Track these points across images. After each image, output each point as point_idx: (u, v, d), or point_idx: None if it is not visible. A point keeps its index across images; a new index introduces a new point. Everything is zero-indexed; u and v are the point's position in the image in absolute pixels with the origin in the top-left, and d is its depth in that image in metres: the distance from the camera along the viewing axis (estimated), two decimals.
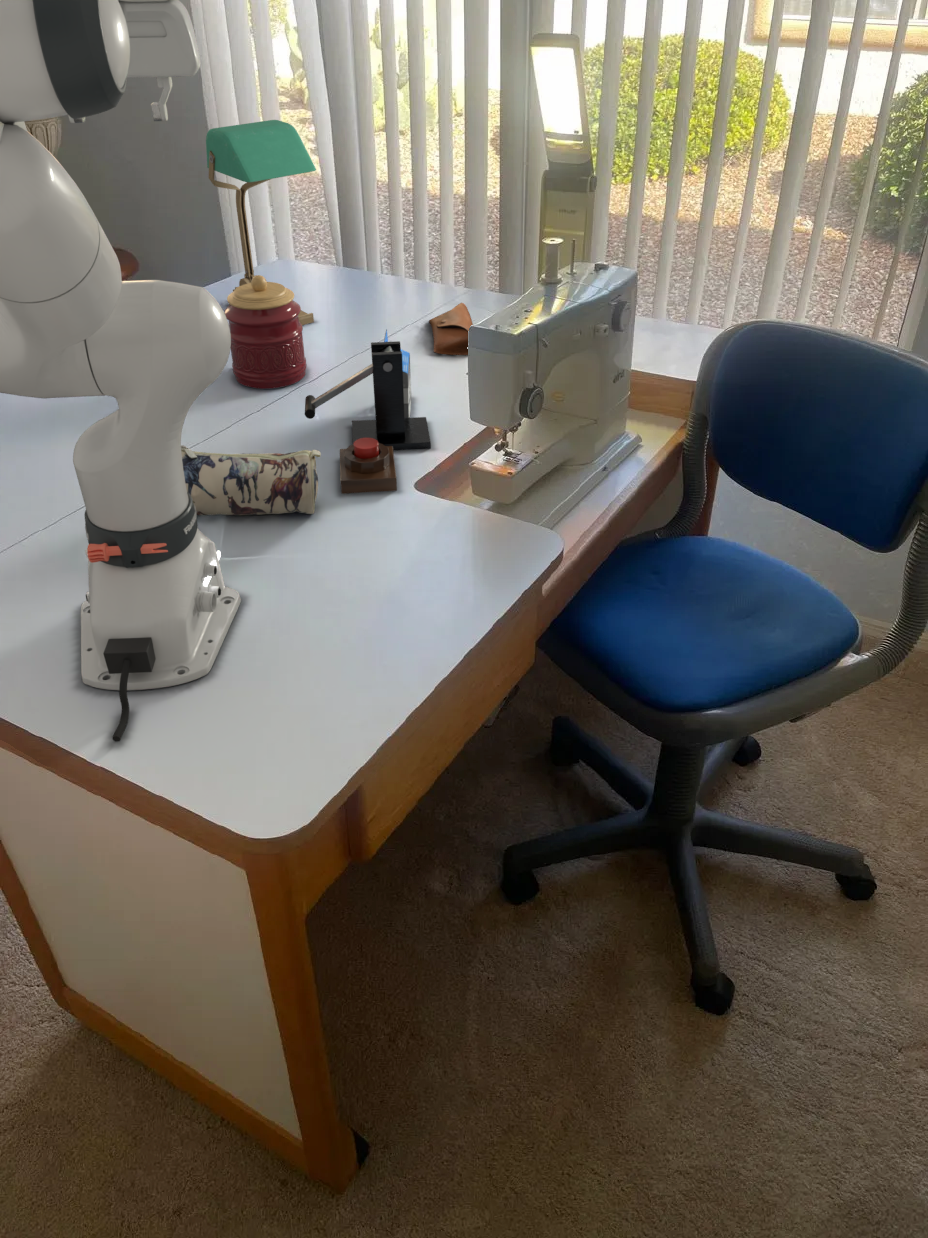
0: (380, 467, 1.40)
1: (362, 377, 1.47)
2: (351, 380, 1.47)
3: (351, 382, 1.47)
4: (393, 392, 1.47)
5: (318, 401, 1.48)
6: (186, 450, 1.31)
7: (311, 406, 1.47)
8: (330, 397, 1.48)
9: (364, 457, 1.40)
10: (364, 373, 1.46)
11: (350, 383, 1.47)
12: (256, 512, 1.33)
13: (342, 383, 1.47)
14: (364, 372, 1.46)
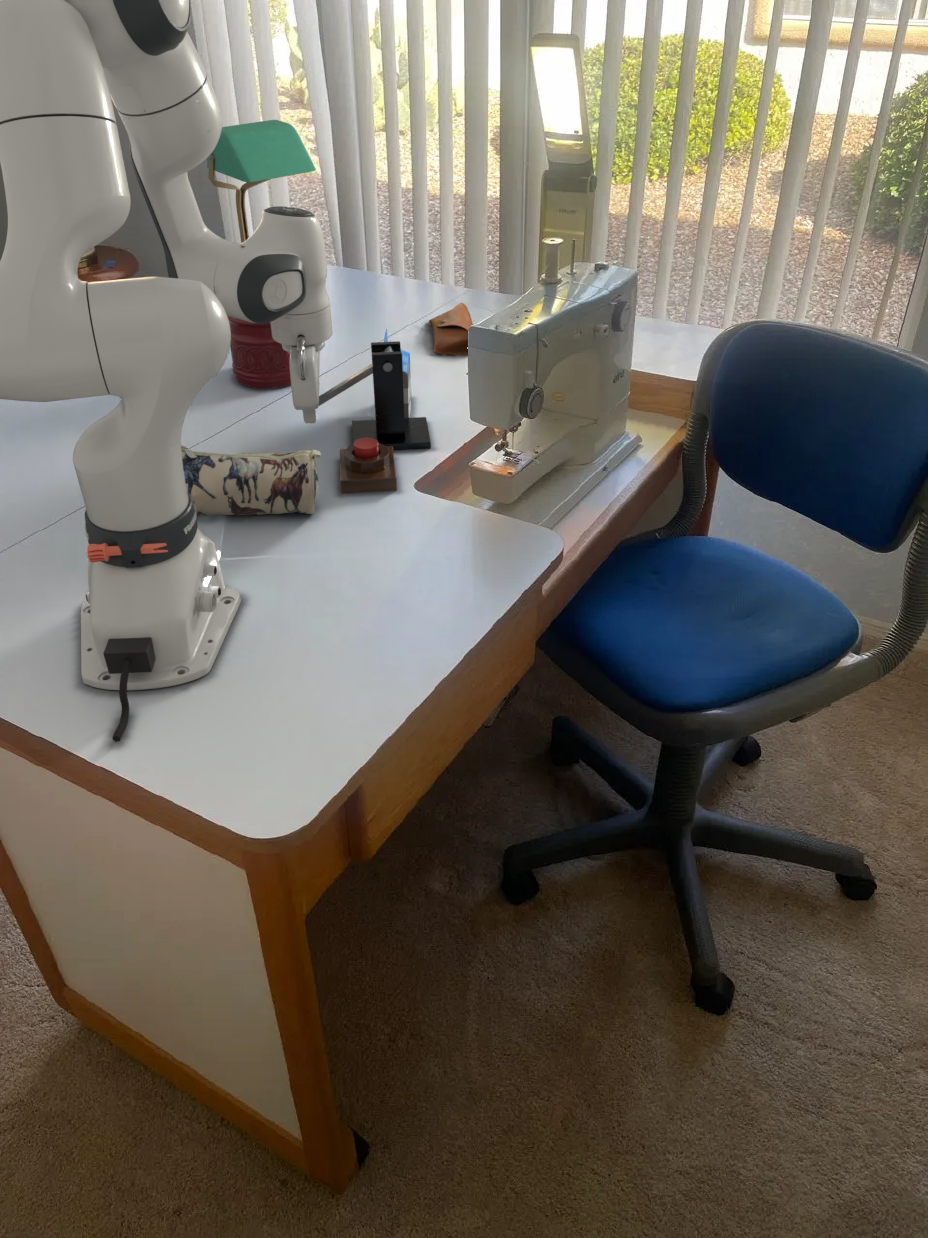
0: (380, 467, 1.40)
1: (362, 377, 1.47)
2: (351, 380, 1.47)
3: (351, 382, 1.47)
4: (393, 392, 1.47)
5: None
6: (186, 450, 1.31)
7: None
8: (330, 397, 1.48)
9: (364, 457, 1.40)
10: (364, 373, 1.46)
11: (350, 383, 1.47)
12: (256, 512, 1.33)
13: (342, 383, 1.47)
14: (364, 372, 1.46)
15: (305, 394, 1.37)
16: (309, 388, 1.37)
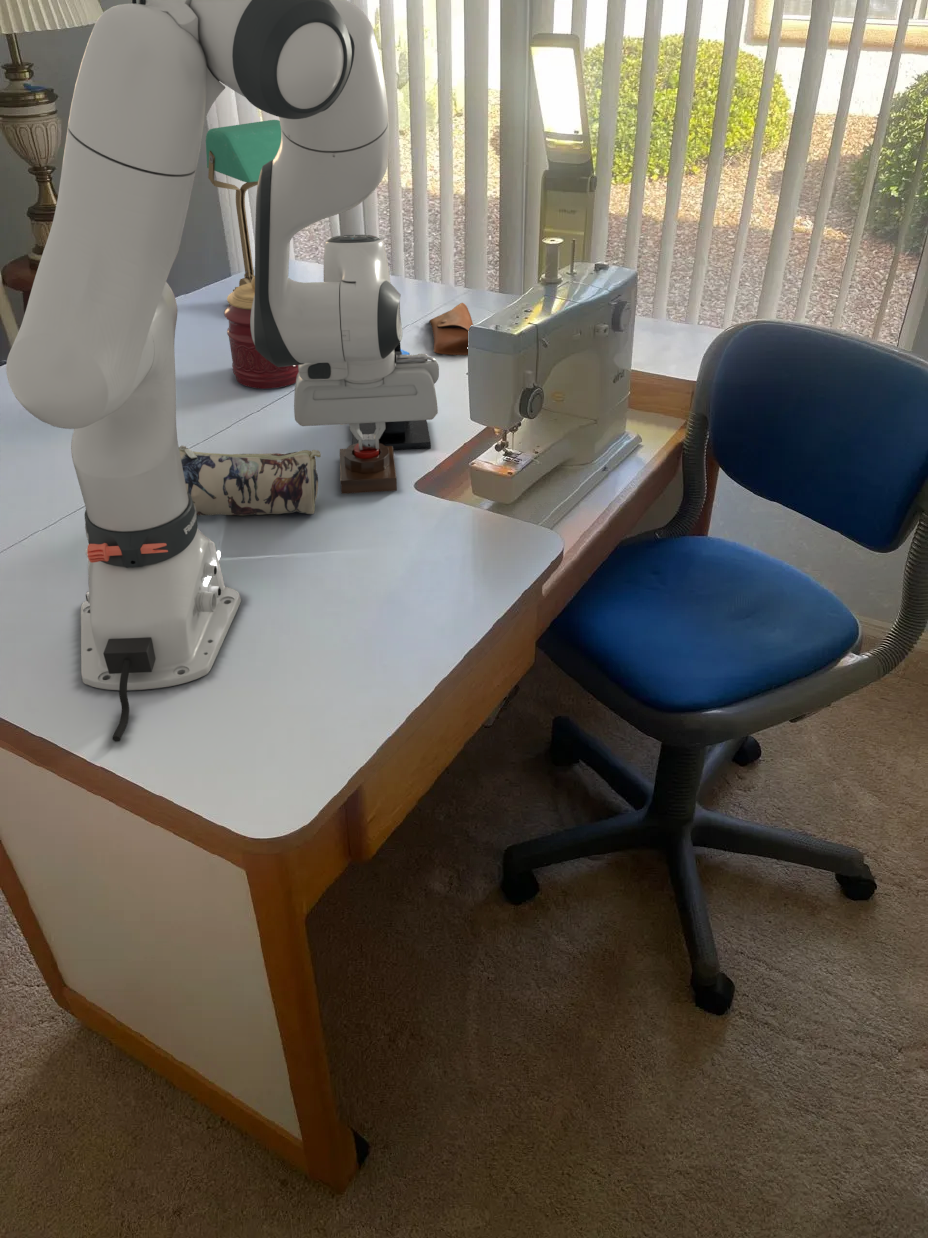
0: (380, 467, 1.40)
1: None
2: None
3: None
4: None
5: None
6: (186, 450, 1.31)
7: None
8: None
9: None
10: None
11: None
12: (256, 512, 1.33)
13: None
14: None
15: None
16: None
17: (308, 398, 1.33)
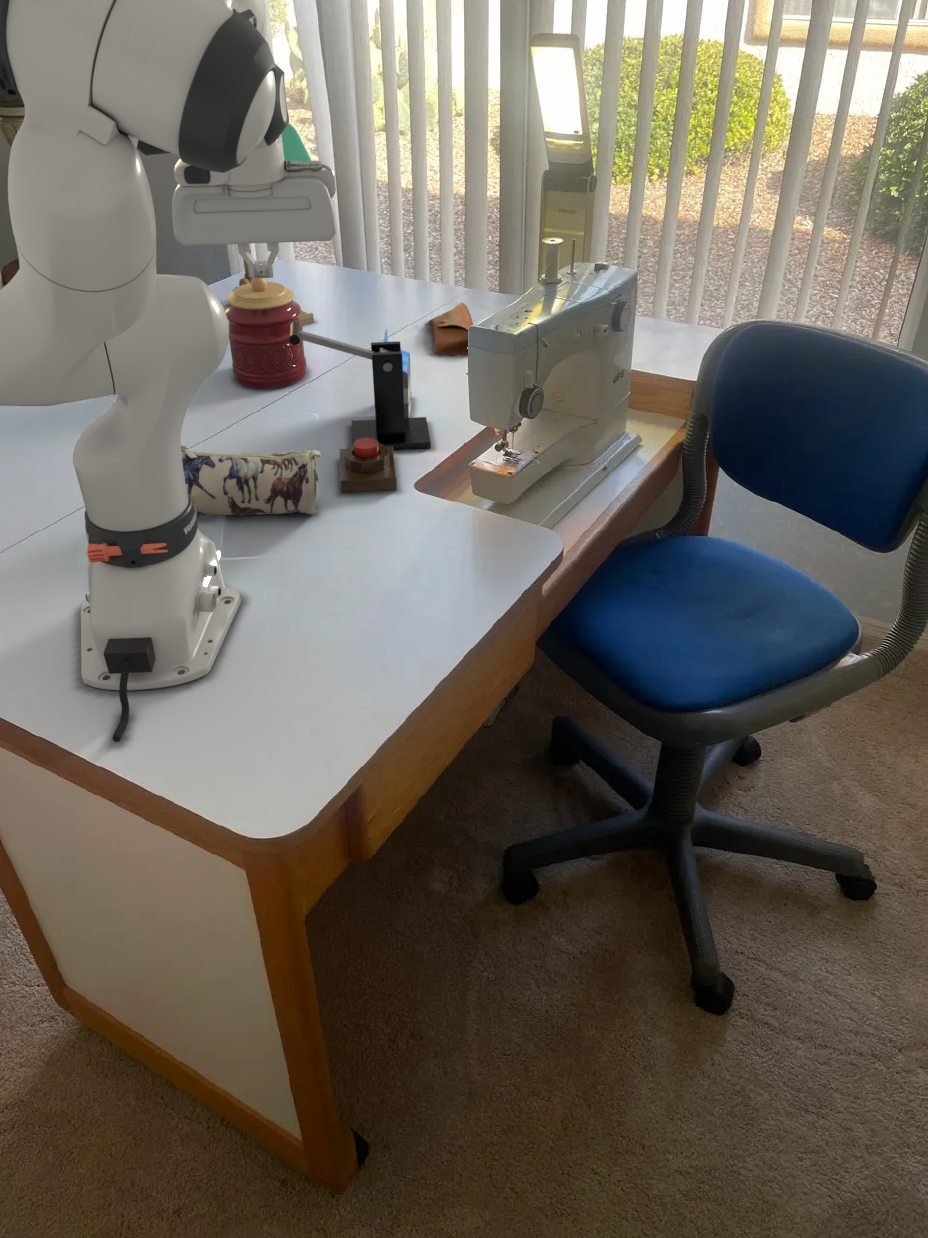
0: (380, 467, 1.40)
1: (357, 353, 1.44)
2: (347, 347, 1.44)
3: (345, 348, 1.44)
4: (393, 392, 1.47)
5: (306, 336, 1.42)
6: (186, 450, 1.31)
7: (299, 335, 1.41)
8: (318, 343, 1.43)
9: (364, 457, 1.40)
10: (362, 352, 1.44)
11: (344, 348, 1.44)
12: (256, 512, 1.33)
13: (337, 342, 1.43)
14: (362, 352, 1.44)
15: (334, 215, 1.23)
16: None
17: (188, 210, 1.19)
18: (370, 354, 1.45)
